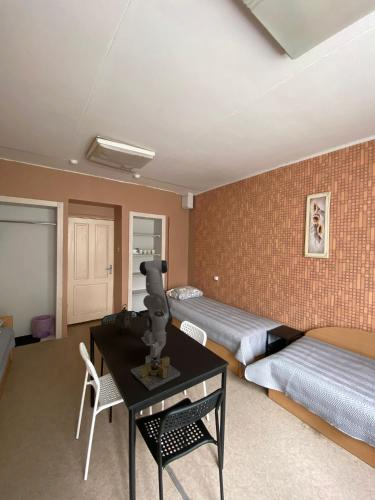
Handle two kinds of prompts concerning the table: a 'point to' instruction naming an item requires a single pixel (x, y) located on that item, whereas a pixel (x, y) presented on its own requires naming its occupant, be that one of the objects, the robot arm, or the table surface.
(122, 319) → the tabletop clock
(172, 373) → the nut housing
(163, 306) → the robot arm
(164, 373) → the gold propeller
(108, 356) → the table surface
